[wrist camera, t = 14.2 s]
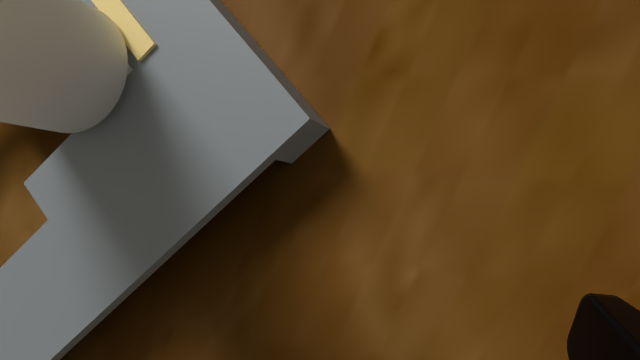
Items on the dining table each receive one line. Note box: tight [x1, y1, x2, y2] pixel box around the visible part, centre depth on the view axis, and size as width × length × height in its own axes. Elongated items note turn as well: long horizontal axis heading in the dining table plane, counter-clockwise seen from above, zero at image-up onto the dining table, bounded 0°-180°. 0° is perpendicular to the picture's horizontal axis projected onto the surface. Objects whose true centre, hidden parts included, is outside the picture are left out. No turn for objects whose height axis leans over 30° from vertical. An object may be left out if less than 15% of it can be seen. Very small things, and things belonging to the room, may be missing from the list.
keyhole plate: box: [0, 0, 330, 360], centre depth 20 cm, size 18×11×2 cm, turn 130°
